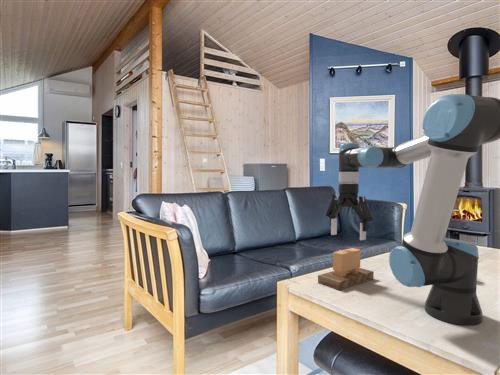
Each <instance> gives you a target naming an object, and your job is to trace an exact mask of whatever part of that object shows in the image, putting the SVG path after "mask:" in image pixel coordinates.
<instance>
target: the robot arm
mask: <svg viewBox="0 0 500 375" xmlns="http://www.w3.org/2000/svg"><path fill="white" fill-rule="evenodd" d="M423 115H424V116H423V119H422V129H423V130H424V131H423V133H424V134H423V135H420V136H417V137H415V138H413V139H409V140H408V141H405V142H403V143H400V144H398V145H395V146H391V147H389V146H387V147H385V146H383V147H382V146H381V147H380V146H376V145H365V146H361V147H360V144H359V143H358V142H344V143H341V144H339V150H338V182H339V184H338V194H332V195H331V196H332V198H331V201H330V204H329V207H328V208H327V211H326V213H325V216H326V217H327V218H329V226H330V235H331V236H334V235H337V234H338V218H337V216H338V214H339V213H340V212H341V211H342V209H343V208H351V209H353V211H354V212H355V214H356V215H357V216H358V218H359V220H360V222H359V241H365V240H366V239H367V236H366V235H367V232H368V230H369V229H368V228H369V225H368V224H369V223H370V222H373V220H374V219H373V216H372V214H371V211H370V209H369V207H368V203H367V202H366V201H367V200H366V195H365V196H364V195H363V196H359V191H360V190H359V187H360V185H359V181H360V180H359V179H360V169H361V168H362V169H363V168H367V169H372V168H373V169H374V168H377V169H378V168H380V169H381V168H382V169H383V168H387V169H388V168H389V169H402V168H403V169H404V168H407V167H409V166H410V164H412V163H415V162H418V161H421V160H422V161H423V160H424V159H427V158H429V159H428V160H429V161H428V164H427V169H426V173H425V175H424V179H423V183H422V187H421V191H420V196H419V198H418V203H417V206H416V209H415V210H416V211H415V213H414V219H413V222H412V225H411V229H410V231H409V232H406V233H405V234H404V235H403V237H402V241H401V245H397V246H395V247H394V248H392V249H391V251H390V252H389V257H388V262H389V268H390V270H391V272H392V275H393V277H394V278H395V280H396V281H398V282H399V283H400V284H401V285H403V286H405V287H407V288H421V287H426V286H431V288H430V290H429V293H428V294H427V297H426V300H425V303H424V311H425V312H426V313H427V314H428V315H430V316H431V317H433V318H435V319H438V320H440V321H443V322H447V323H450V324H454V325H455V324H456V325H463V326H473V325H478V324H480V323H482V322H483V310H482V307H481V304H480V300H479V297H478V295H477V288H478V287H477V285H478V284H477V283H478V270H479V268H478V264H479V263H478V262H479V259H480V258H479V257H480V256H479V248H478V246H477V245H476V244H474V243H473V242H470V241H469V242H468V241H465V240H460V239H454V238H448V237H446V235H447V231H448V228H449V224H450V221H451V218H452V215H453V211H454V208H455V204H456V200H457V197H458V194H459V191H460V187H461V184H462V181H463V177H464V173H465V171H466V168H467V163H468V160H469V158H471V157H472V156H474V155H476V154H478V151H479V148H480V146H481V145H485V144H488V143H492V142H495V141H498V140H500V98H497V97H492V96H481V95H472V94H471V95H470V94H466V93H465V94H464V93H456V94H455V93H452V94H446V95H442V96H440V97H438V98H437V99H435V101H433V102H431V104H430V105H429V106H428V108H427V109H426V111H425V112H424V114H423ZM359 168H360V169H359Z"/></svg>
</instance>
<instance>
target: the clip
mask: <svg viewBox="0 0 500 375" xmlns="http://www.w3.org/2000/svg"><path fill="white" fill-rule="evenodd" d="M361 252H362V251H361V249H359V248H355V247H350V248H345V249H341V250H337V251H332V271H334V275H335V276H339V277H342V278H344V277H346V271H347V272H350V273H354V274H358V273H359V268H361V256H362V255H361Z"/></svg>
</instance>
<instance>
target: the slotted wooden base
mask: <svg viewBox="0 0 500 375" xmlns="http://www.w3.org/2000/svg"><path fill="white" fill-rule="evenodd" d="M334 271H335V270H332V271H329V272H325V273H321V274H318V275H317V284H320V285H323V286H326V287H329V288H331V289H334V290H336V291H342V290H343V289H348V288H350V287H353V286H356V285H359V284H362V283H366V282H368V281H371V280H374V278H375V277H374V276H375V274H374V272H375V271H373V270H369V269H366V268H362V267H359V273H358V274H354V273H350V272H347V271H346V277H344V278H342V277H339V276H335V275H334Z"/></svg>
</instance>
